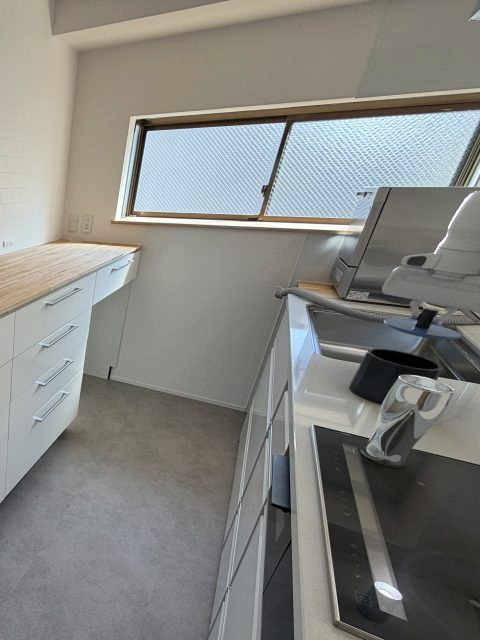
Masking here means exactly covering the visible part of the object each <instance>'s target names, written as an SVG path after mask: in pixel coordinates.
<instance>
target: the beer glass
mask: <svg viewBox="0 0 480 640" xmlns="http://www.w3.org/2000/svg"><path fill="white" fill-rule="evenodd" d="M455 392H456V389H455V388H454V387H453V386H451V385H450V384H447V383H444V381H443V382H442V381H440V380H438V379H437V380H434V379H430V378H426V377H422V376H416V375H400V376H399V378H398V379H397V381H396V382H395V384H394V385H393V386H392V388H391V389H390V391H389V392H388V394H387V396H386V397H385V399H384V401H383V403H382V405H381V404H380V405H381V406H380V408H379V410H378V411H379V412H378V415H377V418H376V422H375V426H374V428H373V431H372V434H371V435H370V437H369V439H368V440H367V441H366V442H365V443H364V444H363V445H362V446H361V447H360V448H359V453H360V454H361V455H362V456H363V457H364V458H366V459H367V460H369V461H371V462H373V463H375V464H378V465H381V466H383V467H387V468H392V469H402V468H404V467H405V466H406V465H407V462H408V458H409V455H410V454H411V453H410V452H411V451H412V449H413V448H414V447H415V445H416V444H417V443H418V442H419V441H420V440H421V439H422V438H423V437H424V436H425V435H426V434H427V433H428V432H429V431H430V430H431V429H432V428H433V427H434V426H435V425H436V423H438V421H439V420H440V419H441V417H442V416H443V414H444V413H445V411H446V409H447V407H448V405H449V403H450V402H451V399H452V397H453V395H454V393H455Z"/></svg>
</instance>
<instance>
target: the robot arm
mask: <svg viewBox="0 0 480 640" xmlns="http://www.w3.org/2000/svg"><path fill="white" fill-rule="evenodd" d="M400 264H401V265H400V266H397V267H396V268H394V269H393V270H392V271H391V273H390V274H389V276H388V277H387V278H386V279H385V282H384V284H383V285H382V287H381V291H382V293H383V295H388V296H393V297H398V298H403V299H407V300H411V302H410V303H409V307H410V310H411V314H410V315H409V317H408V320H412V321H417V320H418V318H419V316H420V314H421V313H422V311H420V309H419V306H420V305H422V304H423V303H428V304H432V305H433V304H434V305H439V306H444V307H446V308H445V310H444V311H445V313H444V314H442V315H441V316H440V315H437V316H435V317H434V318H433V321H431V324H433V325H437V326H442V324H443V323H444V321H445V319H447V318H448V317H451V316H452V315H453V314H455V313H457V312H458V310H462V311H463V310H464V311H469V312H474V313H479V314H480V188H479V189H476V190H475V191H473V192H471V193H469V195H468V196H467V197H466V198H465V199H464V200H463V202H462V203H461V205H459V208H458V209H457V211H456V212H455V214H454V215H453V217H452V219H451V221H450V223H449V225H448V227H447V232H446V234H445V236H444V238H443V240H442V241H441V242H439V244H438V245H437V247H436V249H435V250H434V251H433V252H432V253H431V252H423V253H421V254H420V253H419V254H411V255H406V256H404V257H402V259H401V261H400Z"/></svg>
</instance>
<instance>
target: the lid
mask: <svg viewBox="0 0 480 640" xmlns="http://www.w3.org/2000/svg"><path fill="white" fill-rule="evenodd" d="M439 312H440V310H439V309H436V308H430V307H424V308H423V309H422V311H421V314H420V316H419V318H418V320H412V319H404V318H403V319H402V318H386V319H384V320H383V325H384V326H386V327H388V328H390V329H394V330H396V331H397V332H401V333H404V334H407V335H410V336H414V337H419V338H424V339H425V338H426V339H433V340H459V339H461V337H462V334H461V333H460V332H458V331H456V330H454V329H451V328H448V327H445V326H442V325H434V324H431V321H433V318H434V317H435V316H438V314H439Z"/></svg>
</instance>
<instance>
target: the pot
mask: <svg viewBox="0 0 480 640" xmlns="http://www.w3.org/2000/svg"><path fill="white" fill-rule="evenodd" d="M443 371H444V367H443V365H442V364H440V363H439V362H437V361H435V360H432V359H429V358H427V357H424V356H420V355H417V354H413V353H409V352H406V351H400V350H396V349H388V348H371V349H367V350H366V352H365V354H364V356H363V358H362V360H361V362H360V363H359V366H358V367H357V370H356V371H355V374H354V376H353V377H352V379H351V381H350V383H349V385H348V389H349V391H350V392H352V393H353V394H355V396H358V397H359V398H362V399H364V400H367V401H369V402H372V403H375V404H377V405H382V403H383V401H384V399H385V397H386V396H387V394H388V392H389V391H390V389H391V388H392V386H393V385H394V384H395V382H396V381H397V379H398V378H399V376H400V375H416V376H422V377H426V378H430V379H434V380H437V381H438V379H439V377H440V376H441V374H442V372H443Z"/></svg>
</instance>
